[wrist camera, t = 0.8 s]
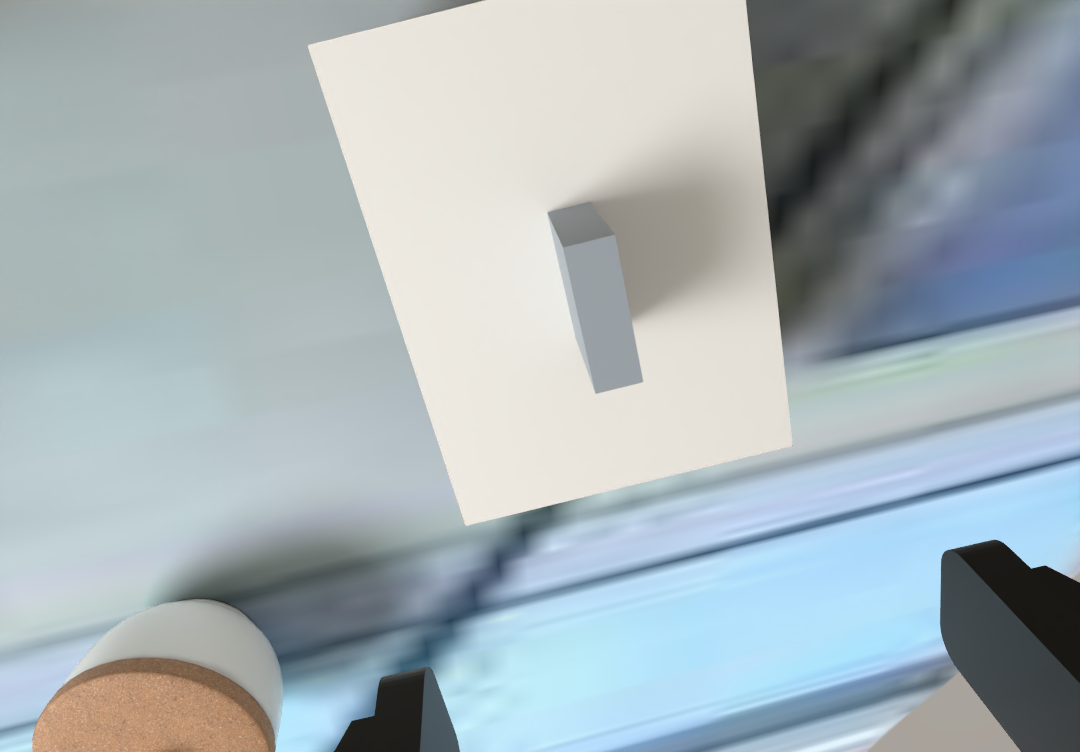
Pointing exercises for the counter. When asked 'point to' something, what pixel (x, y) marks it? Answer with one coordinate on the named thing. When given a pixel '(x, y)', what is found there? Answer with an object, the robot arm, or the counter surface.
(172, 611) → the lidded jar
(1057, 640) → the robot arm
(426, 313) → the lid
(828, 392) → the counter surface
